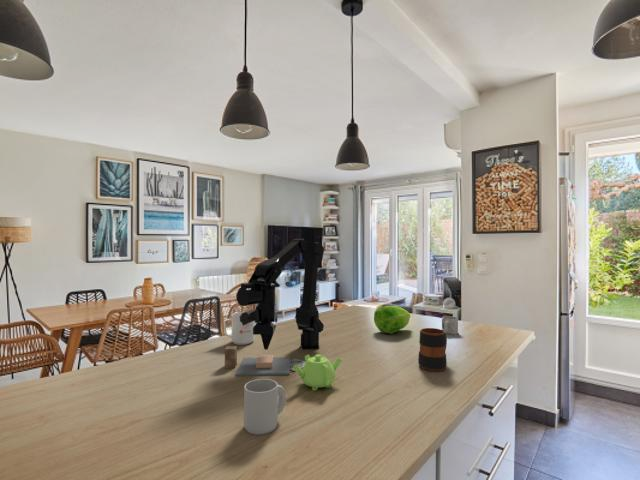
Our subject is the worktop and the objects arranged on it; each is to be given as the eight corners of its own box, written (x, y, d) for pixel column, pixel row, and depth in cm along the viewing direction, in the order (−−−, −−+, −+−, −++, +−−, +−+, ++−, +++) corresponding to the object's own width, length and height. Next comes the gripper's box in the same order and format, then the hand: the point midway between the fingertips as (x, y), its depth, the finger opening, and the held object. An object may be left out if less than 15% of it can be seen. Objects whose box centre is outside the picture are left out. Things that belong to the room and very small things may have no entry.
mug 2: (457, 365, 115) (457, 329, 115) (436, 374, 107) (436, 336, 107) (434, 358, 121) (434, 324, 121) (412, 366, 114) (413, 330, 114)
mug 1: (250, 337, 146) (250, 311, 146) (257, 343, 138) (257, 315, 138) (221, 341, 140) (221, 313, 140) (226, 347, 132) (226, 318, 132)
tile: (274, 355, 117) (272, 362, 110) (273, 360, 117) (272, 368, 110) (258, 355, 116) (256, 362, 109) (258, 360, 116) (255, 368, 109)
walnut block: (236, 364, 115) (236, 346, 115) (234, 368, 111) (235, 349, 111) (226, 364, 114) (227, 346, 114) (224, 368, 111) (224, 349, 111)
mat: (290, 359, 120) (290, 357, 120) (289, 374, 106) (289, 372, 106) (243, 359, 119) (243, 357, 119) (235, 375, 105) (235, 373, 105)
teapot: (331, 396, 91) (331, 364, 91) (290, 390, 95) (291, 359, 95) (342, 380, 102) (342, 351, 102) (305, 375, 106) (305, 347, 106)
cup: (238, 425, 77) (238, 384, 77) (276, 411, 84) (276, 373, 84) (254, 439, 72) (254, 395, 72) (294, 423, 78) (294, 383, 78)
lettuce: (421, 331, 157) (421, 304, 157) (390, 338, 146) (390, 309, 146) (398, 325, 168) (398, 300, 168) (367, 331, 157) (367, 304, 157)
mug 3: (444, 330, 160) (444, 315, 160) (459, 332, 156) (459, 317, 156) (437, 334, 152) (437, 319, 152) (453, 337, 148) (453, 321, 148)
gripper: (246, 297, 125) (245, 341, 125) (236, 307, 106) (235, 359, 106) (277, 297, 125) (277, 341, 125) (273, 307, 106) (273, 358, 106)
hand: (266, 349), depth 116 cm, fingers closed
